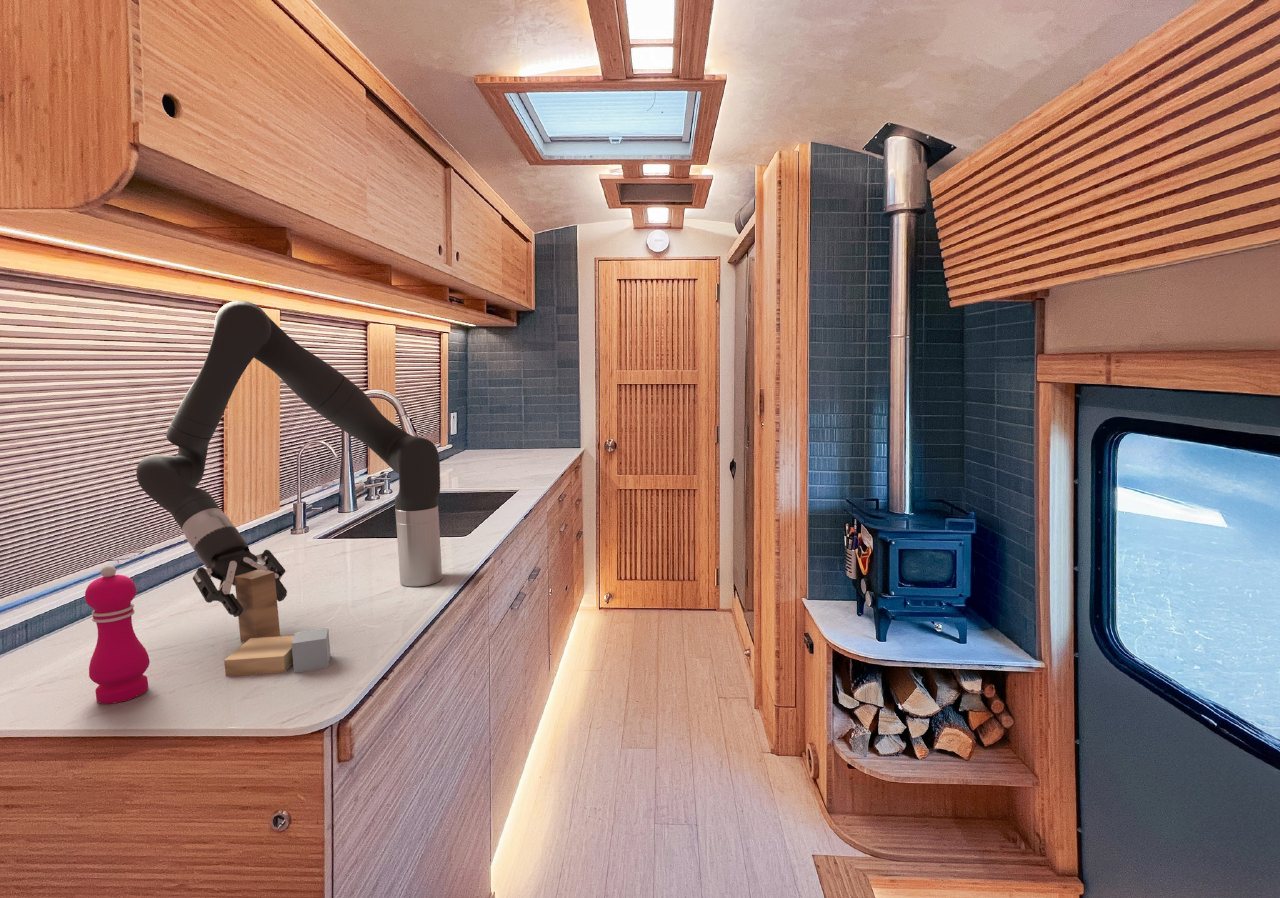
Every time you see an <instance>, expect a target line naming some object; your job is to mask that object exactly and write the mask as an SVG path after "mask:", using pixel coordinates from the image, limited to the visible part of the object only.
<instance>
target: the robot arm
mask: <svg viewBox="0 0 1280 898" xmlns="http://www.w3.org/2000/svg"><path fill="white" fill-rule="evenodd" d="M218 309H219V310H218V311H217V313H216V315H215V318H214V323H213V326H214V332H213V334H212V338H211V339H212V340H211V343H210V346H209V349H208V352H207V355H206V358H205V359H204V362H203V365H202V366H201V368H200V371H199V373H198V374H197V376H196V378H195V379H194V381H193V382H192V385H190V388H189V389H188V390H187V392H186V394H185V396H184V397H183V399H182V400H181V402H180V404H179V406H178V408H177V410H176V412H175V413H174V417H173V418H172V419H171V422H170V424H169V425H168V427H167V431H166V439H167V441H169V442H170V444H172V445H174V446H176V447H178V451H177V453H176V455H170V454H168V455H167V454H151V455H147V456H146V457H144V458H142V459H141V460H140V462H139V463H138V464H137V467H136V470H135V471H136V472H135V473H136V480H137V483H138V485H139V486H140V488H141V489H142V490H143V492H144V493H145V494H146V495H147V496H148V497H149V498H151V499H152V500H153V501H154V502H155V503H157V505H159V506H160V507H161V508H163V509H164V510H165V511H167V512H168V513H169V514H171V515H172V517H173V518H174V520H175V522H176V523H177V525H178V526H179V528H180V529H181V530H182V532H183V534H184V536H185V539H186V541H187V542H188V544H189V545H190V546H191V548H192V549H193V551H194V552H195V554H196V555H197V557H198V558H199V560H200V561H201V563H202V564H203V566H204V567H205V568H204V567H202V566H201V567H198V569H197V570H196V572H195V573H194V575H193V577H192V580H193V582H194V584H195V585H196V587H197V589H198V590H199V592H200V593H201V595H202V597H203V599H204V601H205V602H206V603H208V604H209V603H212V602H219V603H221V604H222V605H223V607H224V608H225V610H226V611H227V613H228V614H229V615H230V616H233V617H234V618H237V617H238V616H240V614H241V613H242V612H243V607H242V606H241V605H240V603H239V602H238V600H237V598H236V595H235V594H234V593H231V590H232V586H233V587H235V577H234V576H237V575H241V574H244V573H248V572H251V571H254V570H265V571H272V572H275V584H276V595H277V602H282V601H284V600H285V599H286V597H287V595H288V590H287V588H286V587H285V586H284V584H283V583H282V581H281V579H282V577H283V576H284V574H285V573H286V569H285V568H284V566H283V565H282V564H281V563H280V562H279V560H278V559H277V558H276V557H275V556H274V554H273V553H272V552H271V550H270V549H265V550H263V552H262V553H259V554H254V553H252V552H251V551H250V548H249V545H248V543H247V541H246V540H245V539H244V537H243V536H242V535H241V533H240V532H239V530H238V529H237V527H236V526H235V524H233V522H232V521H231V519H230V517H229V516H227V515H226V514H225V513H224V512H223V510H222V509H221V507H220V506H219V505H218V503H217V502H216V500H215V499H214V498H213V496H212V495H211V494H210V493H209V492H208V491H206V489H202V488H199V487H198V485H199V484H200V483H201V481H202V479H203V477H204V473H205V468H206V463H207V456H208V447H209V444H210V442H211V439H212V438H213V435H214V434H215V432H216V429H217V428H218V425H219V424H220V421H221V419H222V418H223V414H224V413H225V410H226V409H227V406H228V403H229V402H230V400H231V397H232V395H233V392H234V390H235V388H236V386H237V384H238V382H239V380H240V379H241V377H242V375H243V374H244V372H245V371H246V369H247V368H248V366H249V365H250V363H251V362H252V360H257V361H258V362H260V363H261V364H263V365H264V366H266V367H267V368H268V369H270V370H271V371H272V372H273V373H274V374H276V375H277V376H278V377H279V379H281V380H282V382H283V383H284V384H286V386H287V387H288V388H289V389H291V391H292V392H293V393H294V394H295V395H296V396H297V397H298V398H300V400H301V401H303V402H304V403H305V404H307V405H308V406H309V407H310V408H311V409H312V410H314V412H317V413H318V414H319V415H320V416H322V417H323V418H325V419H326V420H327V421H328V422H330V423H332V424H334V425H335V426H336V427H337V428H339V429H341V430H342V431H344V432H345V433H347V434H348V435H349V436H352V437H353V438H355V439H357V440H358V441H360V442H362V443H363V444H364V445H366V447H368V448H369V449H370V450H371V451H372V452H374V454H376V455H377V456H378V457H379V458H380V459H381V460H382V461H383V462H385V464H386V465H387V466H388V467H390V468H391V469H392V470H393V471H394V472H395V473H396V474H398V481H399V482H398V486H399V488H398V493H397V494H396V495H395V498H394V510H395V523H396V536H397V537H396V538H397V540H396V541H397V552H398V567H399V582H400V585H402V586H405V587H422V586H423V587H425V586H430V585H433V584H436V583H438V582H440V581H442V580H441V579H443V570H442V569H443V567H442V549H441V532H440V517H439V515H440V514H439V497H440V496H439V495H440V493H441V466H440V455H439V450H438V447H436V445H435V444H434V442H433V441H431V440H429V439H428V438H424V437H421V436H420V437H419V436H414V435H411V434H410V433H408V432H406V431H405V430H403V429H402V428H400V427H399V426H398V425H396V424H394V423H393V422H391V421H390V420H389V419H388V418H386V417H385V416H384V415H383V414H382V412H381V411H380V410H379V409H378V408H377V406H376V405H375V404H374V402H373V401H372V400H371V398H370V397H369V396H368V395H367V394H366V393H365V392H364V391H363V390H362V389H361V388H360V387H359V386H357V385H356V384H355V383H354V382H353V381H351V380H350V379H349V378H347V377H346V376H345V375H344V374H343V373H341V372H340V371H338V370H337V369H335V367H333V366H332V365H330V364H329V363H327V361H326V362H325V361H324V360H323V359H321V358H320V357H318V356H317V355H315V354H314V353H312V352H311V351H309V350H307V349H306V348H304V347H303V346H301V345H300V344H299V343H298V342H297V341H295V340H294V339H293V338H292V337H290V336H289V335H288V334H287V333H286V332H285V331H284V330H283V329H282V328H280V326H279V325H277V324H276V322H274V321H273V320H272V318H271V317H269V316H268V315H267V313H266V312H265V311H264V310H263V309H262V308H261V307H260V306H258V305H256V304H255V303H252V302H250V301H246V300H234V301H230V302H227V303H225V304H223V306H221V307H220V308H218ZM212 578H214V579H216V580H219V581H220V582H219V587H218V588H217V586H216V585H215V583H214V582H213V580H212Z"/></svg>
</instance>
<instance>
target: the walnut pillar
mask: <svg viewBox="0 0 1280 898" xmlns="http://www.w3.org/2000/svg"><path fill="white" fill-rule="evenodd" d="M234 577H235V586H234V587H235V597H236V599H237V600H238V602H239V603H240V605H241V606H242V607H243V612H242V613H241V614H240V616H237V617H238V626H239V637H240V638H239V639H240V642H243V641H244V642H243V643H245V642H246V641H248V640H249V639H250V638H263V637H278V636H279V635H280V636H281V630H280V629H281V628H280V619H279V609H278V608H279V607H278V600H277V595H276V584H275V572H272V571H265V570H254V571H251V572H248V573H244V574H241V575H237V576H234Z"/></svg>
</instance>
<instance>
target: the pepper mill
mask: <svg viewBox="0 0 1280 898" xmlns="http://www.w3.org/2000/svg"><path fill="white" fill-rule="evenodd" d="M116 573H117V569H116V567H114V565H105V566H103V567H102V568H101V570H100V575H101V577H98V578H96V579H95V580H93V581H91V582H90V584H89V583H88V586H87V587H86V590H85V593H84V600H85V603H86V604H87V605H88V607H90V608H92V611H91V616H92V618H91V620H92V622H93V623H96V628H97V639H96V645H95V648H94V650H93V653H92V656H91V658H90V662H89V664H88V665H89V666H88V678H89V679H90V680H91V681H92V682H93V683H94V684H97V685H98V686H97V687H96V688H95V698H96V701H97V703H99V704H102V703H103V704H105V705H106V704H107V705H111V704H118V702H119V703H123V702H126V700H127V701H130V700H133V699H135V698H137V697H139V696H142V695H143V694H144V693H146V692H147V691H148V689H149V681H148V676H147V675H145V672H147V670H148V668H149V666H150V658H149V654H148V652H147V650H146V648H145V647H144V645H143V644H142V642H141V641H140V640H139V639H138V637H137V635H136V633H135V630H134V627H133V620H132V616H133V615H134V614H135V609H134V607H135V605H134V604H133V602H132V601H133V600H134V598H135V597H136V594H137V586H136V584H135V582H134V580H133V579H132V578H131V577H129V576H126V575H123V574H116Z"/></svg>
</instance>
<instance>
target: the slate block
mask: <svg viewBox="0 0 1280 898" xmlns="http://www.w3.org/2000/svg"><path fill="white" fill-rule="evenodd" d="M329 632H330V631H329V627H324V628H318V629H317V628H316V629H309V630H303V631H302V630H301V631H296V632H295V633H294V638H293V641H292V655H293V664H292V665H293V673H294V674H295V673H296V674H297V673H302V672H308V671H315V670H320V669H328V668H329V665H330V660H331V644H330V643H331V642H330V633H329Z"/></svg>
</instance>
